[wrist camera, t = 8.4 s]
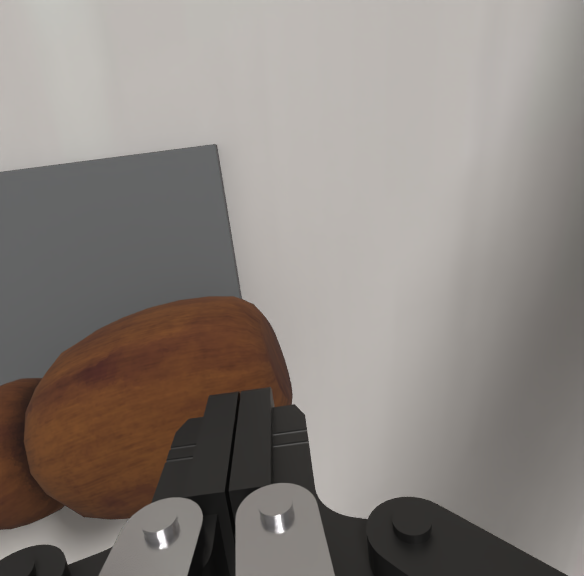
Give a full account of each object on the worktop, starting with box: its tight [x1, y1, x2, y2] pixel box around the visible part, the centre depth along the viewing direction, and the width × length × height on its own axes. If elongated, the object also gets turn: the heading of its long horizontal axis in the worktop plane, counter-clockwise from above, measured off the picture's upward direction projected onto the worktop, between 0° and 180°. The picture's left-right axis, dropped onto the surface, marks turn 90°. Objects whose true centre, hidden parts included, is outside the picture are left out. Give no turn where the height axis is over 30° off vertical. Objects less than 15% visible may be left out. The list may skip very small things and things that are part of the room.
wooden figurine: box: [0, 296, 293, 530], centre depth 15 cm, size 7×6×15 cm
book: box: [0, 144, 242, 386], centre depth 18 cm, size 16×14×1 cm
